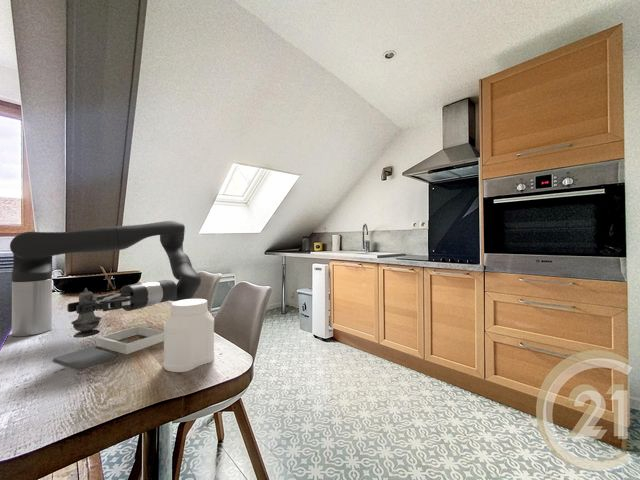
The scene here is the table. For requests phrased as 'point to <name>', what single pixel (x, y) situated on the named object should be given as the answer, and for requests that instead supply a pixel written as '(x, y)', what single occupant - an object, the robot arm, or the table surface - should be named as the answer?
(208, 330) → the jar
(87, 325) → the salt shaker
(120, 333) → the frame
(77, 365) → the rubber mat
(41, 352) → the table surface
